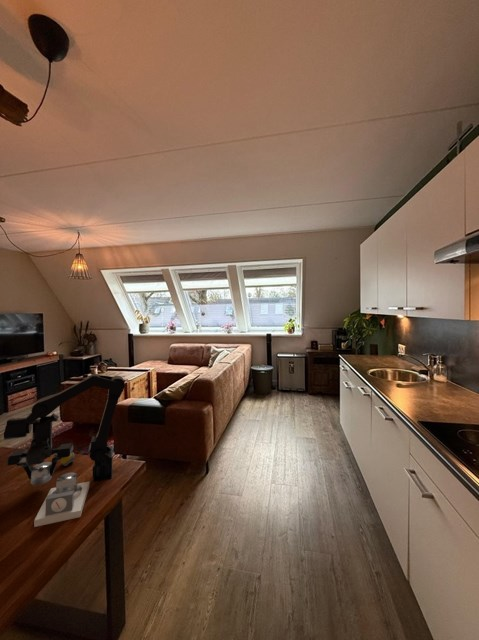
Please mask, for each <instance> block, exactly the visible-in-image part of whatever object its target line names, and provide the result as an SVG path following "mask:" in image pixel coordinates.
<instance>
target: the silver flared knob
mask: <svg viewBox="0 0 479 640" xmlns="http://www.w3.org/2000/svg"><path fill="white" fill-rule="evenodd" d="M51 466H52V461H43V463H41V464H34V465H33V467H32V468H31V479H30V485H32V486H40V485H43V484H45V483H47V482H49V481H50V480H51V479H52V476H53V475H52V476H51Z"/></svg>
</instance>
